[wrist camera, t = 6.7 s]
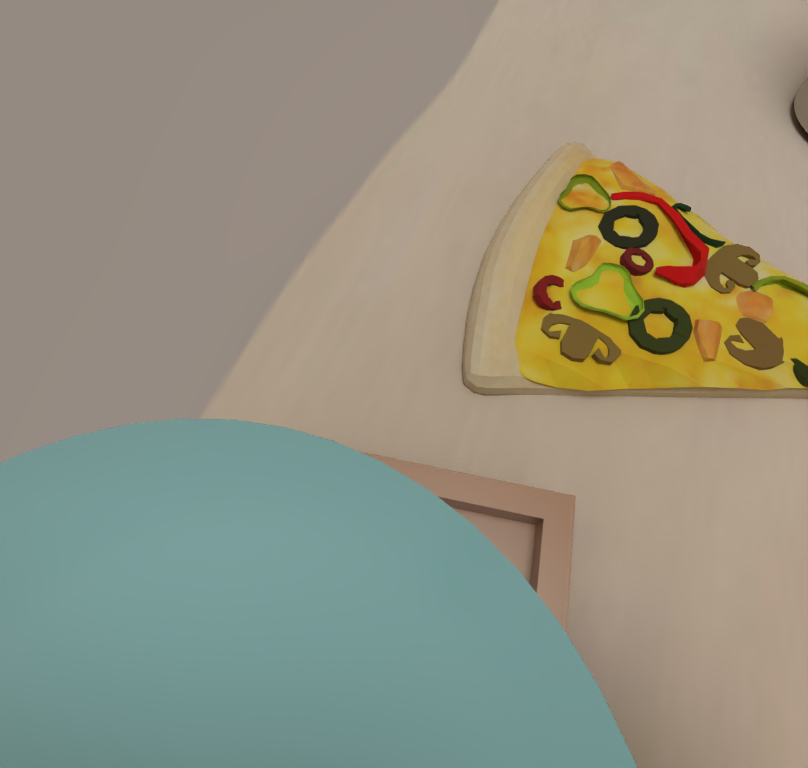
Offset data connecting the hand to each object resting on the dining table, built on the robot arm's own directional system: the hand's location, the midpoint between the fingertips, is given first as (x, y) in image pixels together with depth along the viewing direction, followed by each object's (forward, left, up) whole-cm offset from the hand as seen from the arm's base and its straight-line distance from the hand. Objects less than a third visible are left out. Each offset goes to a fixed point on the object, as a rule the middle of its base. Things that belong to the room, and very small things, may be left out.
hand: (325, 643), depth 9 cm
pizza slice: (+16, -12, -10) cm, 22 cm away
